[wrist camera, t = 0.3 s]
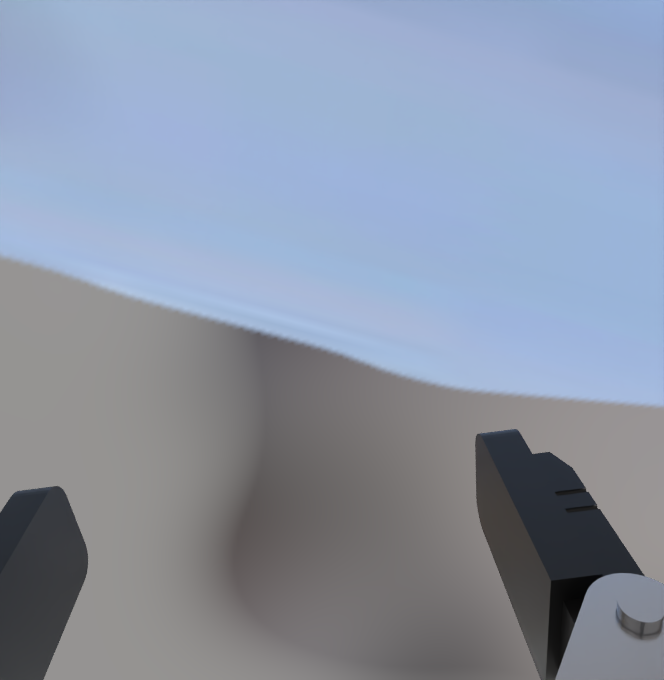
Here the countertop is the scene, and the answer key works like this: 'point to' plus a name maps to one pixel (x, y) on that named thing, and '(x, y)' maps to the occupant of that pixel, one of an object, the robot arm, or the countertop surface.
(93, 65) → the countertop surface
